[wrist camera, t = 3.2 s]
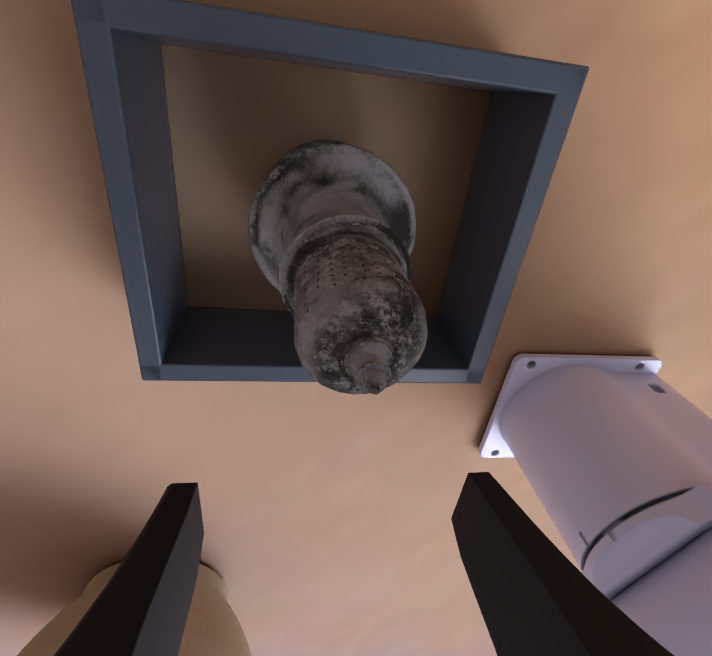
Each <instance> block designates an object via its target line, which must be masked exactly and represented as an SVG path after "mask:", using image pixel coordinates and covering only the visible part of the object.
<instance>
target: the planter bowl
mask: <svg viewBox="0 0 712 656" xmlns="http://www.w3.org/2000/svg"><path fill="white" fill-rule="evenodd" d="M120 564H121V563H118V564H115V565H112V566H110V567H108V568H106V569H104V570H103V571H101V572H99V573H98V574H97V575H96V576H94V577H93V578H92V579H91V580H90V582H89V583H88V584H87V586H86V588H85V590H84V591H83V593H82V595H81V596H80V598H78V599H77V600H75V601H74V602H73V603H72V604H70V605H69V606H68V607H67V608H65V609H64V610H63V611H61V612H60V613H59V614H58V615H57V616H56V617H55V618H53V619H52V620H51V621H50V622H49V623H48V624H47V625H46V626H45V627H44V628H43V629H42V630H41V631H40V632H39V633H38V634H37V635H36V636H35V637H34V638H33V639H32V640H31V641H30V642H29V643H28V644H27V645H26V646H25V647H24V648H23V649H22V650H21V652H20V653H19V654H18V655H17V656H54V654H55V653H56V652H57V650H58V649H59V648H60V647H61V645H62V644H63V643H64V641H65V640H66V639H67V638H68V636H69V635H70V634H71V632H72V631H73V630H74V628H75V627H76V626H77V624H78V623H79V622H80V620H81V619H82V618H83V616H84V615H85V613H86V612H87V611H88V609H89V608H90V607H91V605H92V604H93V602H94V601H95V600H96V598H97V597H98V596H99V594H100V593H101V591H102V590H103V589H104V587H105V586H106V584H107V583H108V582H109V580H110V579H111V577H112V576H113V574H114V573H115V571H116V570H117V568H118V567H119V565H120ZM178 656H251V652H250V649H249V646H248V643H247V640H246V637H245V634H244V632H243V629H242V627H241V625H240V623H239V621H238V619H237V617H236V615H235V613H234V612H233V610H232V609H231V607H230V606H229V604H228V603H227V596H226V586H225V584H224V581H223V579H222V578H221V577H220V576H219V575H218V574H217V573H216V572H215V571H213V570H212V569H210V568H208V567H206V566H204V565H202V564H200V563H199V569H198V575H197V580H196V584H195V588H194V592H193V597H192V601H191V605H190V609H189V613H188V617H187V621H186V625H185V629H184V633H183V637H182V641H181V645H180V649H179V653H178Z"/></svg>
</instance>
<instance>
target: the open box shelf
mask: <svg viewBox="0 0 712 656" xmlns="http://www.w3.org/2000/svg"><path fill="white" fill-rule="evenodd" d="M71 3H72V8H73V14H74V19H75V24H76V30H77V35H78V40H79V46H80V51H81V56H82V62H83V67H84V72H85V77H86V83H87V88H88V93H89V99H90V104H91V109H92V115H93V120H94V125H95V131H96V136H97V141H98V147H99V152H100V157H101V163H102V168H103V173H104V179H105V184H106V189H107V194H108V200H109V205H110V210H111V216H112V221H113V226H114V232H115V237H116V242H117V248H118V253H119V258H120V264H121V269H122V274H123V280H124V285H125V290H126V295H127V301H128V306H129V311H130V317H131V322H132V327H133V333H134V338H135V343H136V349H137V354H138V359H139V365H140V370H141V376H142V379H143V380H166V381H277V382H317V381H316V380H314V379H313V378H312V377H310V376H309V374H308V373H307V371H306V370H305V369H304V367H303V366H302V364H301V362H300V360H299V357H298V354H297V351H296V348H295V345H294V318H293V316H292V315H291V313H290V312H289V311H269V310H243V309H217V308H192V307H188V301H187V292H186V282H185V273H184V263H183V254H182V244H181V234H180V225H179V215H178V206H177V196H176V186H175V177H174V167H173V158H172V148H171V138H170V129H169V119H168V110H167V100H166V91H165V81H164V71H163V62H162V52H161V44H166V45H172V46H179V47H186V48H193V49H200V50H207V51H214V52H221V53H228V54H234V55H241V56H248V57H255V58H262V59H269V60H276V61H283V62H290V63H296V64H303V65H310V66H317V67H324V68H331V69H338V70H345V71H352V72H358V73H365V74H372V75H379V76H386V77H393V78H400V79H407V80H414V81H420V82H427V83H434V84H441V85H448V86H455V87H462V88H469V89H476V90H482V91H489V92H492V95H491V99H490V103H489V107H488V111H487V115H486V119H485V123H484V127H483V131H482V135H481V139H480V143H479V147H478V151H477V155H476V159H475V163H474V167H473V171H472V175H471V179H470V183H469V187H468V191H467V195H466V199H465V203H464V207H463V211H462V215H461V219H460V223H459V227H458V231H457V235H456V239H455V243H454V247H453V251H452V255H451V259H450V263H449V267H448V271H447V275H446V279H445V283H444V287H443V291H442V295H441V299H440V304H439V308H438V312H437V316H436V317H426V321H427V329H428V335H427V340H426V346H425V348H424V350H423V352H422V354H421V356H420V358H419V360H418V361H417V363H416V364H415V365H414V366H413V367H412V369H411V370H410V371H409V372H408V373H407V374H406V375H405V376H404V377H403V378H401V379H400V380H399V381H397V382H396V383H468V384H480V383H481V380H482V377H483V374H484V371H485V368H486V366H487V363H488V360H489V357H490V354H491V351H492V348H493V345H494V342H495V339H496V337H497V334H498V331H499V328H500V325H501V322H502V319H503V316H504V313H505V310H506V308H507V305H508V302H509V299H510V296H511V293H512V290H513V287H514V284H515V281H516V279H517V276H518V273H519V270H520V267H521V264H522V261H523V258H524V255H525V253H526V250H527V247H528V244H529V241H530V238H531V235H532V232H533V229H534V226H535V224H536V221H537V218H538V215H539V212H540V209H541V206H542V203H543V200H544V197H545V195H546V192H547V189H548V186H549V183H550V180H551V177H552V174H553V171H554V168H555V166H556V163H557V160H558V157H559V154H560V151H561V148H562V145H563V142H564V140H565V137H566V134H567V131H568V128H569V125H570V122H571V119H572V116H573V113H574V111H575V108H576V105H577V102H578V99H579V96H580V93H581V90H582V87H583V84H584V82H585V79H586V76H587V73H588V70H589V67H588V66H582V65H576V64H570V63H563V62H557V61H551V60H545V59H539V58H533V57H527V56H521V55H515V54H508V53H502V52H496V51H490V50H484V49H478V48H472V47H466V46H460V45H454V44H448V43H442V42H435V41H429V40H423V39H417V38H411V37H405V36H399V35H393V34H387V33H381V32H375V31H368V30H362V29H356V28H350V27H344V26H338V25H332V24H326V23H320V22H314V21H308V20H302V19H295V18H289V17H283V16H277V15H271V14H265V13H259V12H253V11H247V10H241V9H235V8H229V7H222V6H216V5H210V4H204V3H198V2H192V1H186V0H71Z"/></svg>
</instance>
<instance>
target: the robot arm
mask: <svg viewBox="0 0 712 656" xmlns="http://www.w3.org/2000/svg"><path fill="white" fill-rule="evenodd" d="M530 361H532V362H531V363H529V362H530ZM528 363H529V364H528ZM661 365H662V361H661V360H659V359H658V358H657V357H650V356H607V355H564V354H519V355H517V356H516V357H514V359H513V360H512V363H511V365H510V368H509V370H508V373H507V376H506V378H505V381H504V384H503V386H502V389H501V391H500V394H499V397H498V399H497V402H496V405H495V407H494V410H493V412H492V415H491V418H490V420H489V423H488V425H487V428H486V431H485V433H484V436H483V439H482V441H481V444H480V446H479V449H478V451H479V453H480V455H481V457H483V458H499V457H515V458H516V460H517V462H518V463H519V465H520V467H521V468H522V470H523V472H524V474H525V475H526V477H527V479H528V480H529V482H530V484H531V485H532V487H533V489H534V490H535V492H536V494H537V495H538V497H539V499H540V500H541V502H542V504H543V506H544V507H545V509H546V511H547V512H548V514H549V516H550V517H551V519H552V521H553V522H554V524H555V526H556V527H557V529H558V531H559V533H560V534H561V536H562V538H563V539H564V541H565V543H566V544H567V546H568V548H569V549H570V551H571V553H572V554H573V556H574V558H575V559H576V561H577V563H578V565H579V566H580V568H581V570H582V571H583V572H582V573H581V572H580V571H579V570H578V569H577V568H576V567H575V566H574V565H573V564H572V563H571V562H570V561H569V560H568V559H567V558H566V557H565V556H564V555H563V554H562V553H561V552H560V551H559V550H558V548H557V547H556V546H555V545H554V544H553V543H552V542H551V541H550V540H549V539H548V538H547V537H546V536H545V535H544V533H543V532H542V531H541V530H540V529H539V528H538V527H537V526H536V525H535V524H534V523H533V521H532V520H531V519H530V518H529V517H528V516H527V515H526V514H525V513H524V511H523V510H522V509H521V508H520V507H519V506H518V505H517V504H516V502H515V501H514V500H513V499H512V498H511V497H510V496H509V494H508V493H507V492H506V491H505V490H504V489H503V488H502V487H501V485H500V484H499V483H498V482H497V481H496V480H495V479H494V478H493V476H492V475H491V474H490V473H489V472H478V473H468V475H467V478H466V481H465V483H464V486H463V489H462V491H461V494H460V497H459V499H458V502H457V505H456V507H455V510H454V513H453V515H452V518H451V519H452V523H453V527H454V532H455V536H456V540H457V544H458V547H459V551H460V555H461V558H462V561H463V564H464V567H465V570H466V572H467V575H468V578H469V580H470V583H471V586H472V589H473V591H474V594H475V597H476V599H477V602H478V605H479V607H480V610H481V612H482V615H483V618H484V620H485V623H486V626H487V628H488V631H489V634H490V636H491V639H492V642H493V644H494V647H495V650H496V653H497V656H712V419H710V418H709V417H708V416H707V415H705V414H704V413H703V412H702V411H700V410H699V409H698V408H697V407H695V406H694V405H693V404H692V403H690V402H689V401H688V400H687V399H685V398H684V397H683V396H682V395H680V394H679V393H678V392H677V391H675V390H674V389H673V388H672V387H671V386H669V385H668V384H667V383H666V382H664V381H663V380H662V379H661V378H659V377H658V376H657V375H656V374H657V372H658V371H659V369H660V368H661ZM203 535H204V529H203V521H202V514H201V506H200V498H199V490H198V483H173V484H170V485H169V486H168V487H167V488H166V490H165V492H164V494H163V496H162V498H161V499H160V501H159V503H158V505H157V506H156V508H155V510H154V512H153V513H152V515H151V517H150V518H149V520H148V522H147V523H146V525H145V527H144V528H143V530H142V531H141V533H140V535H139V536H138V538H137V539H136V541H135V543H134V544H133V546H132V547H131V549H130V550H129V552H128V553H127V555H126V556H125V558H124V559H123V561H122V562H121V564H120V565H119V567H118V568H117V570H116V571H115V573H114V574H113V576H112V577H111V579H110V580H109V582H108V583H107V584H106V586H105V587H104V589H103V590H102V591H101V593H100V594H99V596H98V597H97V598H96V600H95V601H94V602H93V604H92V605H91V607H90V608H89V609H88V611H87V612H86V613H85V615H84V616H83V618H82V619H81V620H80V622H79V623H78V624H77V626H76V627H75V628H74V630H73V631H72V632H71V634H70V635H69V636H68V638H67V639H66V640H65V641H64V643H63V644H62V645H61V647H60V648H59V649H58V650H57V652H56V653H55V654H54V656H178V653H179V649H180V645H181V641H182V637H183V633H184V629H185V625H186V621H187V617H188V613H189V609H190V605H191V601H192V597H193V592H194V588H195V584H196V580H197V575H198V569H199V563H200V556H201V549H202V542H203Z"/></svg>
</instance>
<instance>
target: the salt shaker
mask: <svg viewBox="0 0 712 656" xmlns="http://www.w3.org/2000/svg"><path fill="white" fill-rule="evenodd" d="M248 231H249V243H250V247H251V250H252V253H253V256H254V258H255V261H256V264H257V266H258V267H259V269H260V270H261V272H262V273H263V274H264V276H265V277H266V279H267V280H268V281H269V283H271V284H272V285H273V286H274V287H275V288H276V289H278V290H279V291H280V293H281V296H282V299H283V302H284V305H285V306H286V308H287V309H288V310H289V312H290V313H291V315H292V316H293V318H294V345H295V348H296V351H297V354H298V357H299V360H300V362H301V364H302V366H303V367H304V369H305V370H306V371H307V373H308V374H309V376H310V377H312V378H313V379H314V380H316V381H317V382H318V383H320V384H321V385H323V386H325V387H328V388H330V389H333V390H335V391H338V392H342V393H349V394H368V393H371V394H379V393H380V392H381V391H382V390H384V389H385V388H387V387H389V386H391V385H393V384H395V383H396V382H397V381H399V380H400V379H401V378H403V377H404V376H405V375H406V374H407V373H408V372H409V371H410V370H411V369H412V367H413V366H414V365H415V364H416V363H417V361H418V360H419V358H420V356H421V354H422V352H423V350H424V348H425V346H426V340H427V335H428V329H427V321H426V313H425V309H424V307H423V305H422V303H421V301H420V299H419V297H418V295H417V293H416V291H415V290H414V288H413V286H412V285H411V279H412V265H411V258H410V254H411V252H412V249H413V247H414V241H415V233H416V218H415V210H414V204H413V201H412V199H411V197H410V194H409V192H408V189H407V187H406V185H405V183H404V182H403V181H402V179H401V178H400V177H399V176H398V174H397V173H396V172H395V171H394V169H393V168H392V167H391V166H390V165H389V164H387V163H386V162H384V161H383V160H382V159H380V158H379V157H377V156H376V155H374V154H373V153H372V152H369V151H366V150H363V149H360V148H357V147H354V146H352V145H348V144H344V143H341V142H338V141H316V142H311V143H307V144H303V145H301V146H299V147H298V148H296V149H294V150H293V151H291V152H289V153H287V154H286V155H285V156H284V157H283V159H282V160H281V161H280V162H279V163H278V164H277V165H276V166H275V167H274V168H273V169H272V170H271V171H270V172H269V173H268V174H267V176H266V177H265V178H264V179H263V180H262V182H261V184H260V186H259V188H258V190H257V192H256V194H255V196H254V198H253V200H252V204H251V209H250V215H249V220H248Z"/></svg>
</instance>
